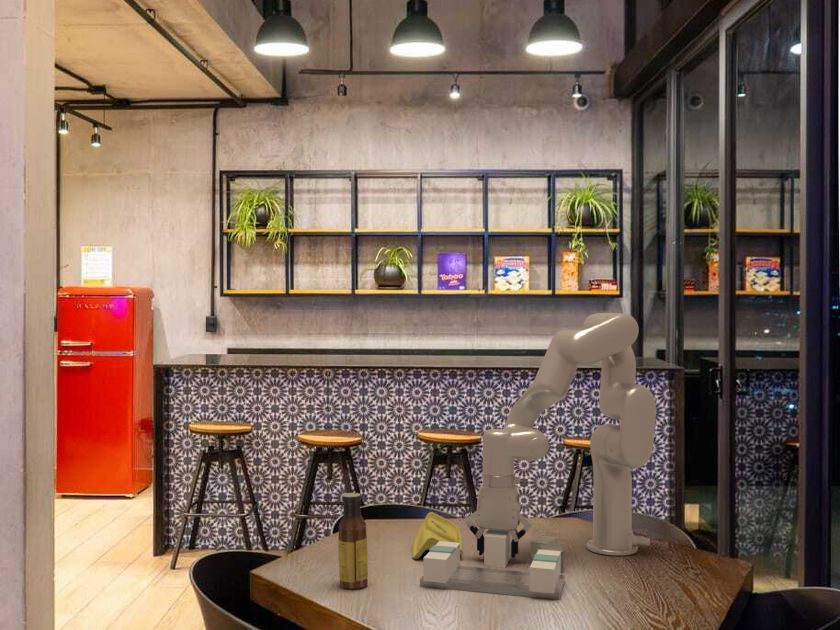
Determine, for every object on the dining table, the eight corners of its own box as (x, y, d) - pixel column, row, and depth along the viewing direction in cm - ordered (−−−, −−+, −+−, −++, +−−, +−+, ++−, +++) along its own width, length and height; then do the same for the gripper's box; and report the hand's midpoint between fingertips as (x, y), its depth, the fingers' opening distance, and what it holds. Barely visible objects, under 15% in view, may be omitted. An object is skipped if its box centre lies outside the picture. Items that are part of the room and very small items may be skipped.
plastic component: (463, 552, 199) (425, 533, 199) (449, 579, 200) (411, 560, 200) (459, 525, 219) (425, 508, 219) (446, 550, 220) (413, 533, 219)
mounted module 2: (560, 573, 186) (561, 549, 186) (554, 593, 172) (554, 567, 172) (538, 571, 187) (538, 547, 187) (529, 591, 174) (529, 565, 174)
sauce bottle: (366, 580, 184) (367, 490, 185) (369, 589, 178) (370, 496, 178) (336, 581, 183) (337, 491, 183) (338, 591, 177) (339, 497, 177)
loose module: (510, 558, 203) (510, 528, 203) (505, 567, 195) (505, 536, 195) (490, 556, 204) (490, 526, 204) (483, 565, 197) (484, 534, 197)
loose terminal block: (557, 553, 208) (557, 537, 208) (545, 560, 202) (545, 543, 202) (542, 551, 210) (542, 535, 210) (530, 557, 204) (530, 541, 204)
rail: (564, 582, 185) (564, 575, 185) (559, 599, 173) (559, 592, 173) (433, 570, 193) (433, 563, 193) (420, 586, 181) (420, 579, 181)
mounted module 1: (460, 564, 192) (460, 541, 192) (446, 583, 178) (446, 558, 178) (438, 562, 193) (438, 539, 193) (423, 581, 180) (423, 556, 180)
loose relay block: (560, 565, 197) (561, 544, 197) (562, 573, 191) (563, 552, 191) (539, 565, 198) (539, 544, 198) (541, 572, 192) (541, 551, 192)
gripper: (536, 480, 201) (535, 554, 201) (466, 476, 206) (465, 548, 206) (532, 486, 194) (531, 563, 194) (459, 481, 198) (458, 556, 198)
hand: (497, 554), depth 200 cm, fingers open, 7 cm apart
